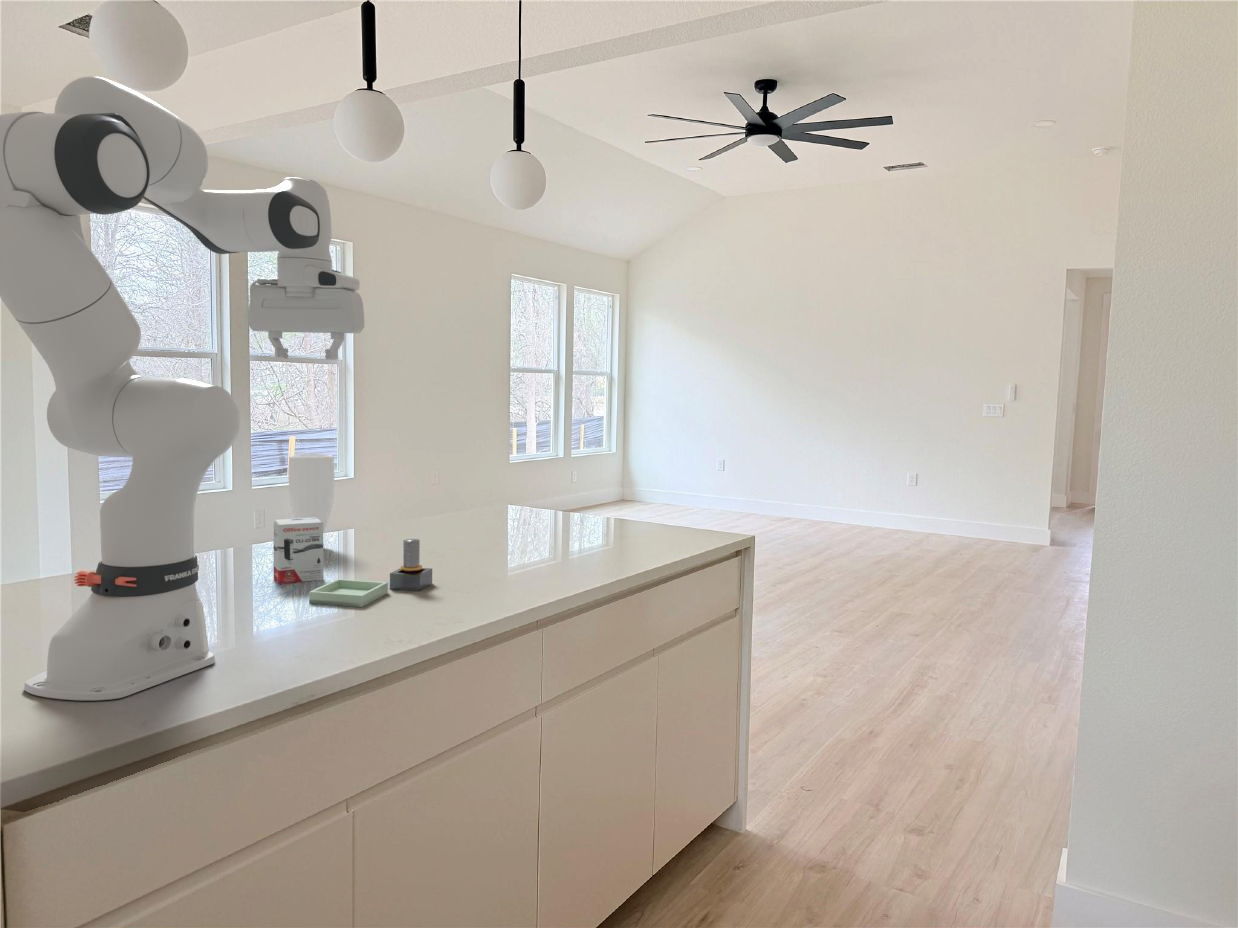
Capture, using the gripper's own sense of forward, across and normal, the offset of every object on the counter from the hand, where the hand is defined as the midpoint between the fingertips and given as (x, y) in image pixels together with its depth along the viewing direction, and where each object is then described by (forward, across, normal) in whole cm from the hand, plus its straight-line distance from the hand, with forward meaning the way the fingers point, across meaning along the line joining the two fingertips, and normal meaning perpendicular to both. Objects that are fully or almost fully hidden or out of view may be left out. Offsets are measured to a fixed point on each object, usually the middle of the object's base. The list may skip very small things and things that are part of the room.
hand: (306, 359), depth 143 cm
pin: (+43, +14, +13) cm, 47 cm away
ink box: (+43, -9, +12) cm, 46 cm away
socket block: (+43, +14, +13) cm, 47 cm away
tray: (+43, +6, +2) cm, 43 cm away
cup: (+44, -23, +41) cm, 64 cm away
